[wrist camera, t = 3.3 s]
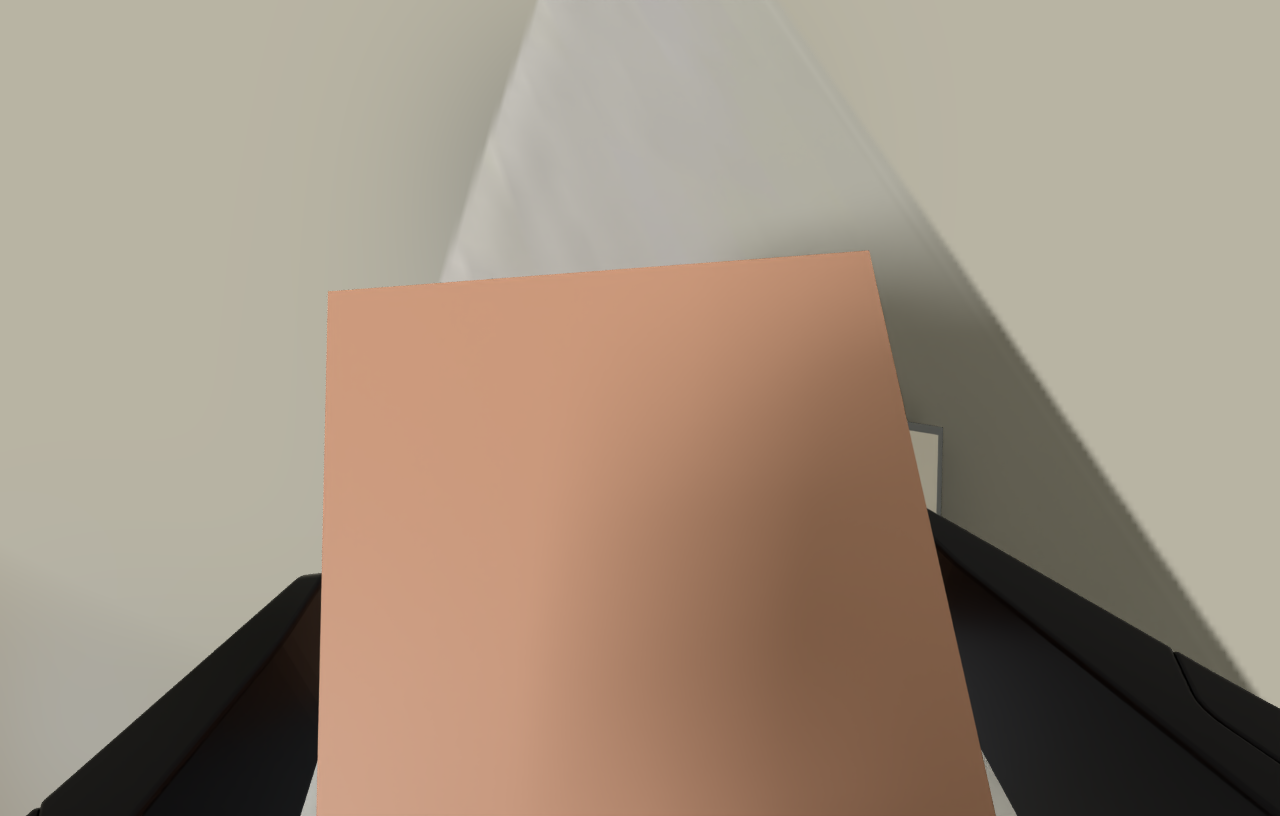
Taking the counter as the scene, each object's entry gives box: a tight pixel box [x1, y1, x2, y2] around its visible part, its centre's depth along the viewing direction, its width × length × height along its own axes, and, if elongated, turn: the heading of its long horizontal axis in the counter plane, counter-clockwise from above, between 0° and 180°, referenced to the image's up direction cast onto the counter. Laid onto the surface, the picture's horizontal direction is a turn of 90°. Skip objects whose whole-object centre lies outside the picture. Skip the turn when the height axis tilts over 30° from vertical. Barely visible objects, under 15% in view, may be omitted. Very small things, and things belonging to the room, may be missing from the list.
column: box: [316, 251, 996, 816], centre depth 10 cm, size 5×5×12 cm
